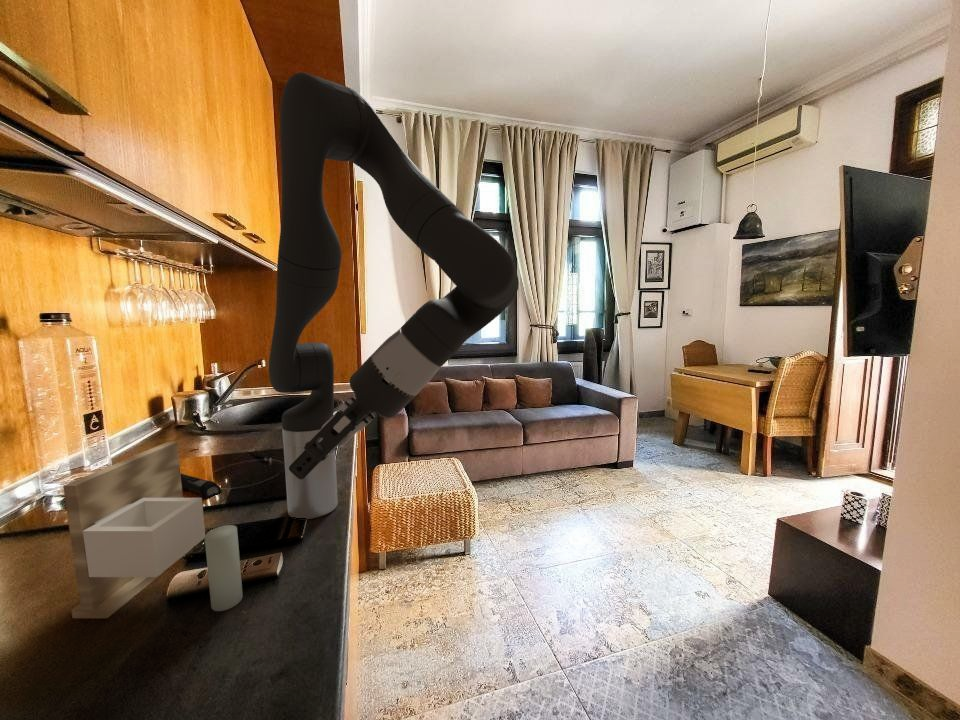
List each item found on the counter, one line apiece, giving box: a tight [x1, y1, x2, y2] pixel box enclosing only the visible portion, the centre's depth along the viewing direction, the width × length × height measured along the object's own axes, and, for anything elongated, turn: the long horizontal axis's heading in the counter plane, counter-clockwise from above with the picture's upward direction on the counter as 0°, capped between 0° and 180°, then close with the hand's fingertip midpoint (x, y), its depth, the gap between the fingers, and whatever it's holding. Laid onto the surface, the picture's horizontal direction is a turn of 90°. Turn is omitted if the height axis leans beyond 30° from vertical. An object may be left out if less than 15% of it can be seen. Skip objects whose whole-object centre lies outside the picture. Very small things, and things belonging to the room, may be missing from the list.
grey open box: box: [83, 497, 206, 578], centre depth 52 cm, size 9×9×6 cm
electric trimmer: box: [180, 472, 222, 500], centre depth 85 cm, size 4×16×3 cm, turn 64°
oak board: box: [62, 441, 191, 619], centre depth 56 cm, size 16×4×18 cm, turn 0°
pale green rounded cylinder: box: [204, 524, 244, 612], centre depth 52 cm, size 4×4×10 cm
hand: (311, 460), depth 50 cm, fingers open, 8 cm apart
